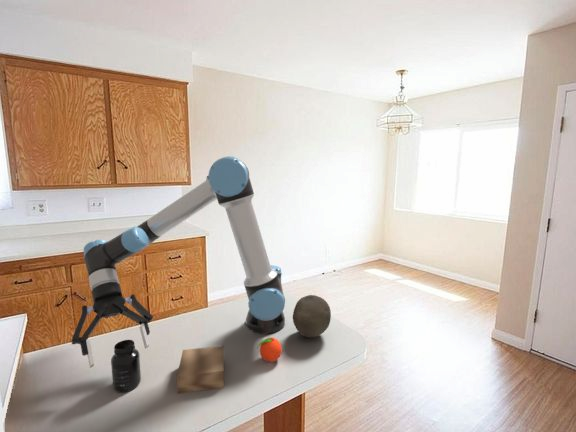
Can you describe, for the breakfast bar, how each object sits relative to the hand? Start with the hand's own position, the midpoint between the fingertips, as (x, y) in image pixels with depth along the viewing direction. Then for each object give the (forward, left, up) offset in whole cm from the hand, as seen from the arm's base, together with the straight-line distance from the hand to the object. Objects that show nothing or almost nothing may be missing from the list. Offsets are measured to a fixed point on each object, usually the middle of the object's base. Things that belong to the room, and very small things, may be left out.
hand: (121, 355), depth 83 cm
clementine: (-41, -3, -8) cm, 42 cm away
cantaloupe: (-58, -14, -8) cm, 61 cm away
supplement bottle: (-1, +1, -8) cm, 8 cm away
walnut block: (-21, +1, -8) cm, 23 cm away
